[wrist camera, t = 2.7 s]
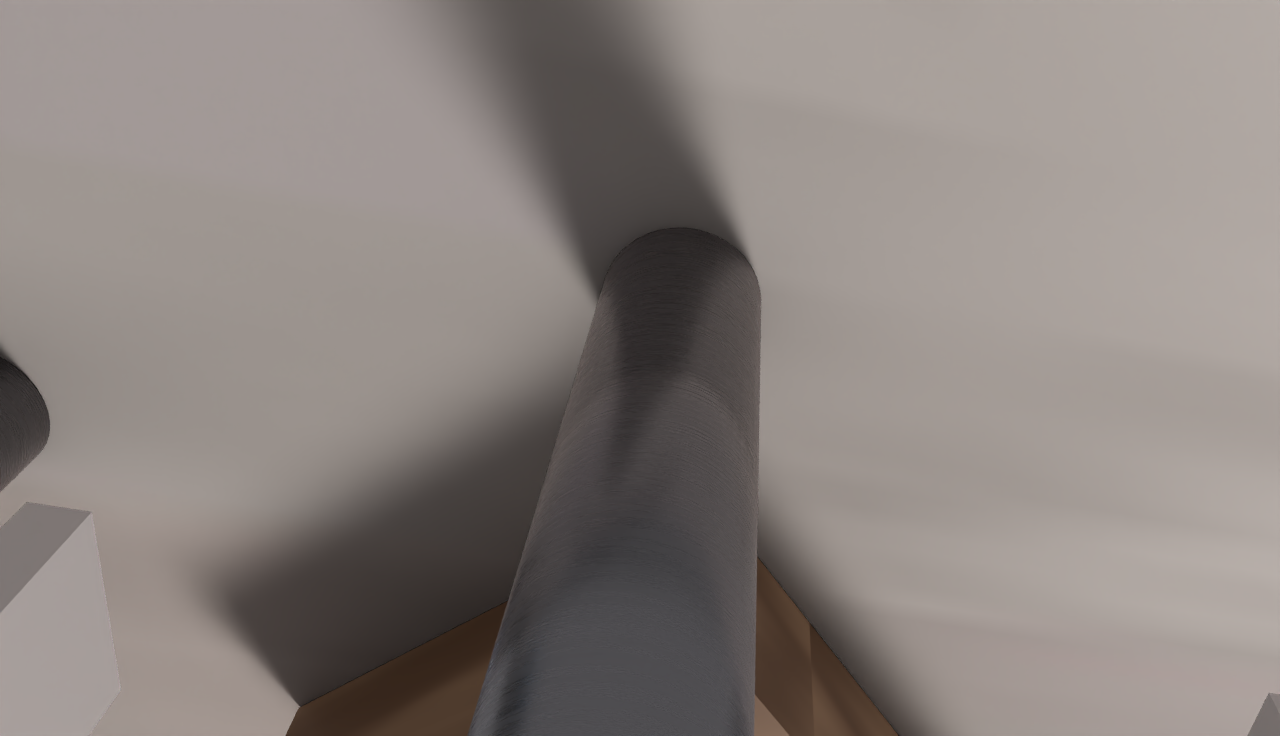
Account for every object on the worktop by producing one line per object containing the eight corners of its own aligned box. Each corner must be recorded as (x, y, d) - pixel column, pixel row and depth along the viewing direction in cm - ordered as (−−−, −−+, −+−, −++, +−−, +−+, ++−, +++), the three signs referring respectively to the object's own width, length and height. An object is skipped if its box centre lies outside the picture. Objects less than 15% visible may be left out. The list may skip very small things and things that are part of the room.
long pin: (570, 280, 22) (313, 988, 9) (703, 198, 21) (605, 876, 8) (661, 397, 23) (534, 1171, 10) (791, 323, 22) (819, 1090, 9)
